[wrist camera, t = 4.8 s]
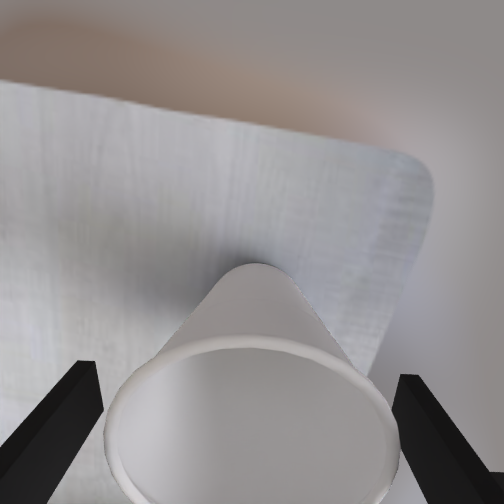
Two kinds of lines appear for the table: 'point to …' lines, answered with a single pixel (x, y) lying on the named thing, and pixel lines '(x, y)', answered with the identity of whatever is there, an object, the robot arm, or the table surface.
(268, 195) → the table surface
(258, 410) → the cup
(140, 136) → the table surface
